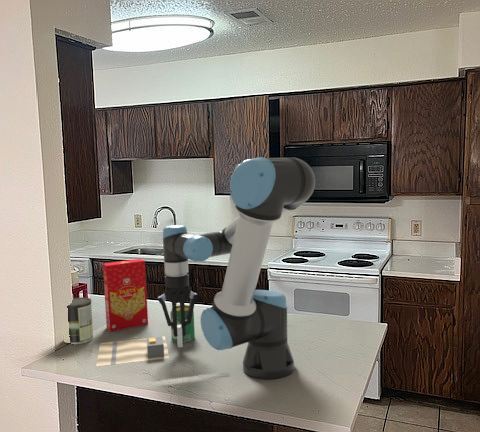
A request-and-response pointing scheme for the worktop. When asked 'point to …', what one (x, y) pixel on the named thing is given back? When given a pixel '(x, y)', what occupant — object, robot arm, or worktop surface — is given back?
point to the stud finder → (155, 347)
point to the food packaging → (125, 294)
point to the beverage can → (188, 328)
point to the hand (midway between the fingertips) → (180, 345)
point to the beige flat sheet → (126, 352)
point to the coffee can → (80, 320)
